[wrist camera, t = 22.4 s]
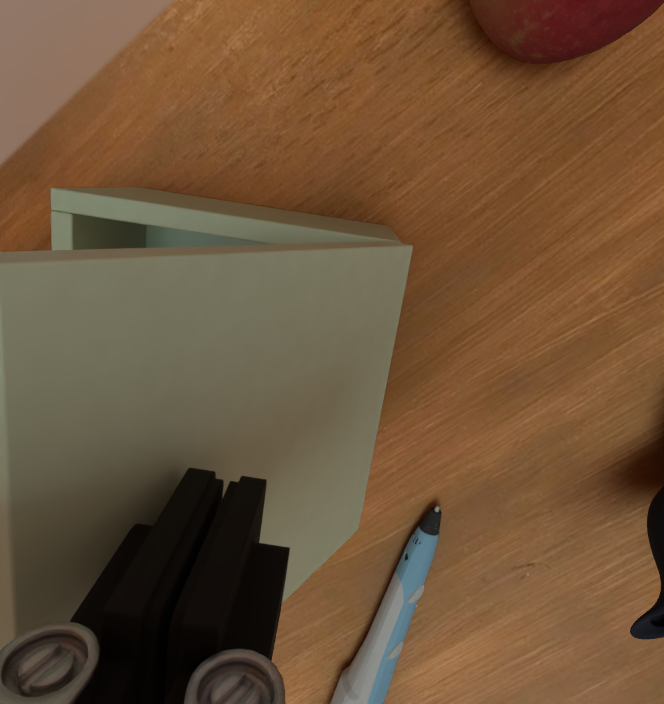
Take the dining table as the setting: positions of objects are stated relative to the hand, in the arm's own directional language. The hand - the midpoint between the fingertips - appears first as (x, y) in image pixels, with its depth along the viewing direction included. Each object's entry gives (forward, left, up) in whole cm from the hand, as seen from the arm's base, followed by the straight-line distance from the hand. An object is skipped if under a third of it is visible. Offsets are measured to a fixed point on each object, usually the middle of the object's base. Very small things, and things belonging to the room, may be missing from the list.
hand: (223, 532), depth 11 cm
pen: (+7, -19, -17) cm, 27 cm away
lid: (0, 0, -3) cm, 3 cm away
